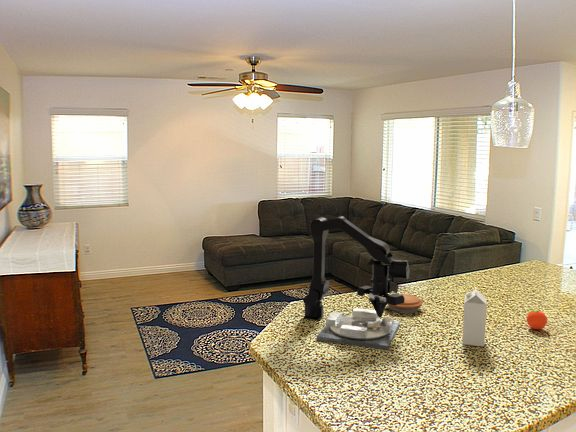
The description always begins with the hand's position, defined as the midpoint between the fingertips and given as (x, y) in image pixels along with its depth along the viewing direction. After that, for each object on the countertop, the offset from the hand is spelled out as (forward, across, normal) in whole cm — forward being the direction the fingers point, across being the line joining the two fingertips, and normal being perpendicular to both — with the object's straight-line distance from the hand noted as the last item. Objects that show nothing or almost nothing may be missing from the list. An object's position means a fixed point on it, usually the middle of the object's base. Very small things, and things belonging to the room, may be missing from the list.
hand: (379, 317), depth 197 cm
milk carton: (+4, -30, -14) cm, 34 cm away
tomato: (+5, -38, -43) cm, 58 cm away
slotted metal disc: (+2, +1, +10) cm, 10 cm away
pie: (+4, +8, -24) cm, 25 cm away
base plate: (+4, +1, +10) cm, 11 cm away
